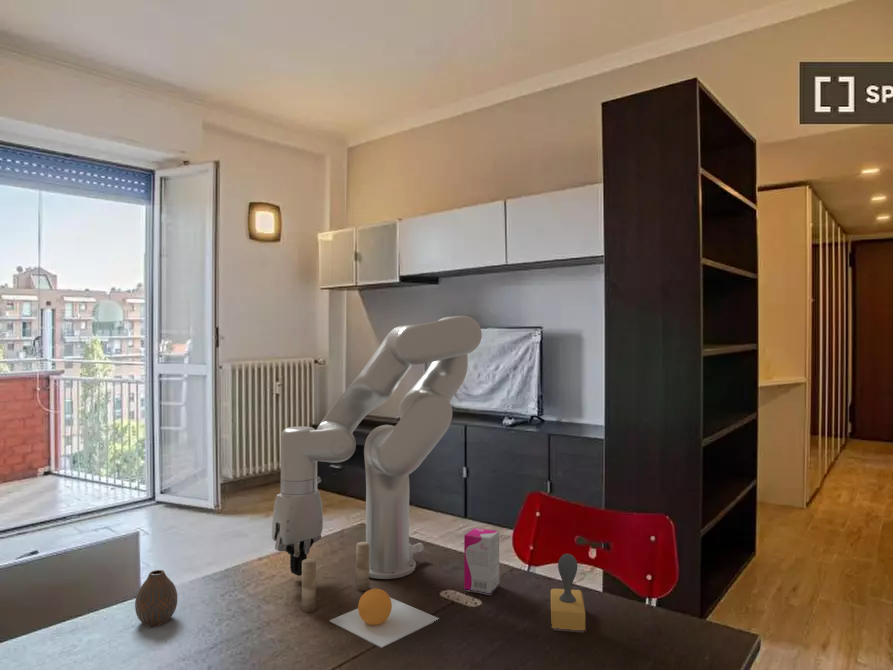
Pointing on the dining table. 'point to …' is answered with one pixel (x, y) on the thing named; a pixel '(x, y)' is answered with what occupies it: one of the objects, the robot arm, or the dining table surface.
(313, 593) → the post
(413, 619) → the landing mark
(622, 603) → the dining table surface
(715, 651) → the dining table surface
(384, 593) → the ball
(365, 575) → the post
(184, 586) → the dining table surface
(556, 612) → the rubber stamp
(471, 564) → the supplement box
